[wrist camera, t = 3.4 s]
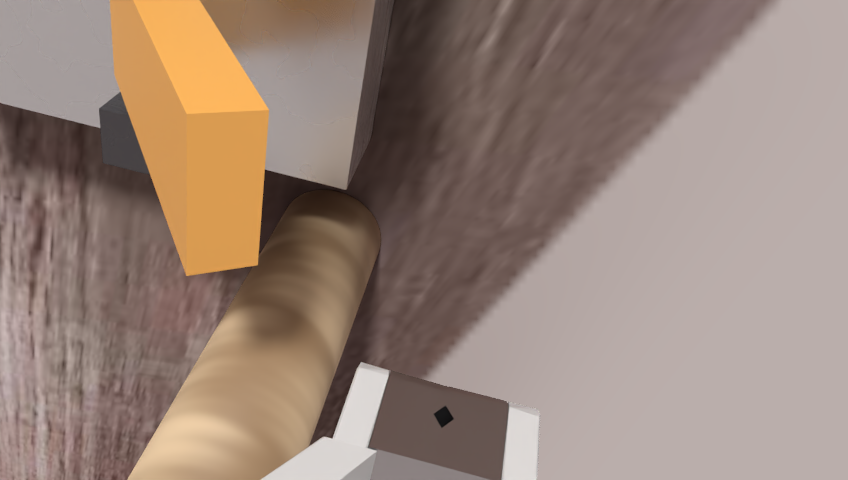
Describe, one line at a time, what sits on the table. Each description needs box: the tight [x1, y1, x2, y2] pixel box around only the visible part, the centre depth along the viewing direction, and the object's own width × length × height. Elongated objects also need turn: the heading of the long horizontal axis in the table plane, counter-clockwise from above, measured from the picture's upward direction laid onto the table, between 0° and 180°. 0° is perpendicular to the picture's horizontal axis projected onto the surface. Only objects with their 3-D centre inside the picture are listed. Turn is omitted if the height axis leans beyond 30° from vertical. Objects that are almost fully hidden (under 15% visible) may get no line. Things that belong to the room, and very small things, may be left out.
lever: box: [110, 0, 269, 276], centre depth 19 cm, size 2×4×11 cm
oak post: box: [127, 190, 381, 480], centre depth 25 cm, size 4×4×16 cm
